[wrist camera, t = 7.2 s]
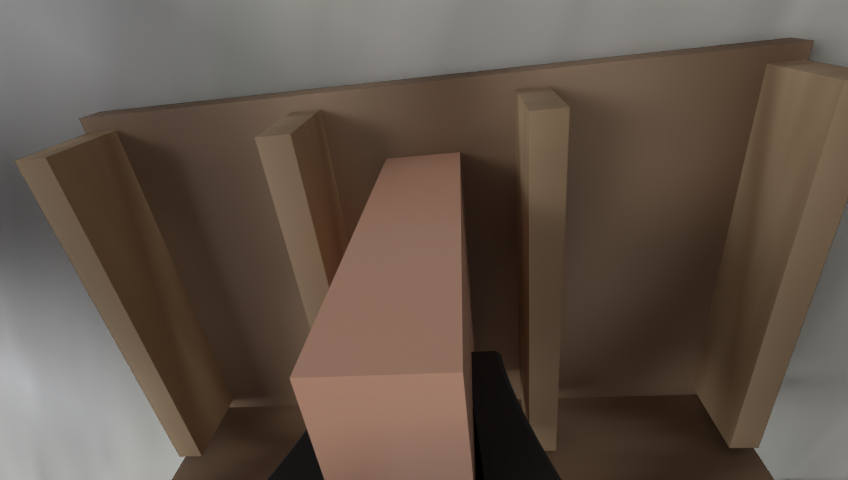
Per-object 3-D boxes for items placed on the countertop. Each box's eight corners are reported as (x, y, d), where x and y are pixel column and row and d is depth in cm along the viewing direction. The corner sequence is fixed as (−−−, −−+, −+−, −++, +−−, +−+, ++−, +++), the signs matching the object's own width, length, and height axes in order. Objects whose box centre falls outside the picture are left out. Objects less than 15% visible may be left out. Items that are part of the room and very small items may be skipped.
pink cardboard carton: (420, 375, 16) (390, 673, 9) (386, 158, 12) (289, 378, 5) (476, 373, 16) (492, 677, 9) (460, 152, 12) (462, 372, 5)
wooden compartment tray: (230, 405, 19) (176, 501, 15) (99, 111, 13) (-34, 155, 9) (702, 392, 17) (768, 498, 13) (790, 37, 11) (949, 57, 7)
